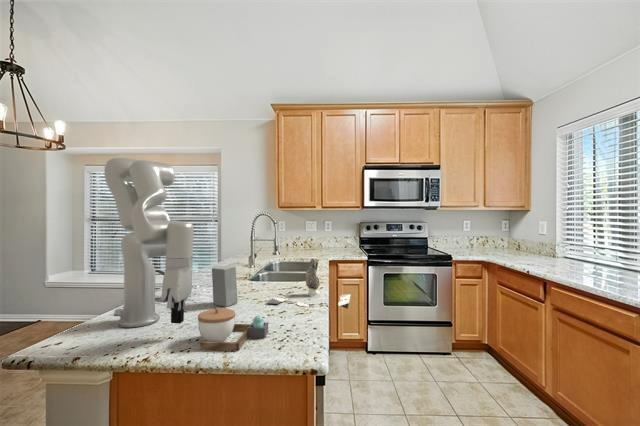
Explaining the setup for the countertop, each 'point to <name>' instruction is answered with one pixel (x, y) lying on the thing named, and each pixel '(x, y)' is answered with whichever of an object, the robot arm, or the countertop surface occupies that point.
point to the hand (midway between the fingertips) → (177, 322)
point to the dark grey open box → (257, 331)
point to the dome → (258, 321)
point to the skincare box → (224, 286)
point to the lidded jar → (216, 324)
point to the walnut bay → (228, 345)
